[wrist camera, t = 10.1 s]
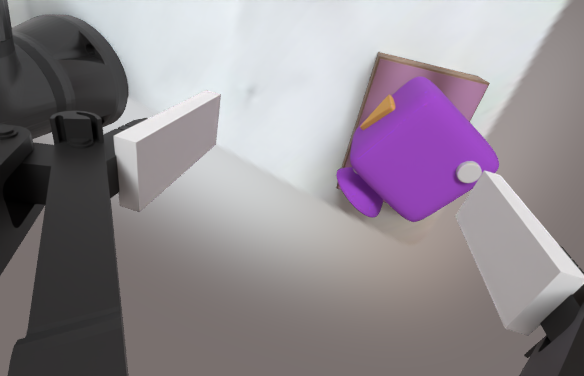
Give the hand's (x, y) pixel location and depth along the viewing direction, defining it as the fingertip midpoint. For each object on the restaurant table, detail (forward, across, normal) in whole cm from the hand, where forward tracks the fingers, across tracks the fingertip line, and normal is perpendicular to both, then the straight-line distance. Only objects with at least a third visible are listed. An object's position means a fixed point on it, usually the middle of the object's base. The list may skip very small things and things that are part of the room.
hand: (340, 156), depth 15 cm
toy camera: (+20, +7, -5) cm, 22 cm away
